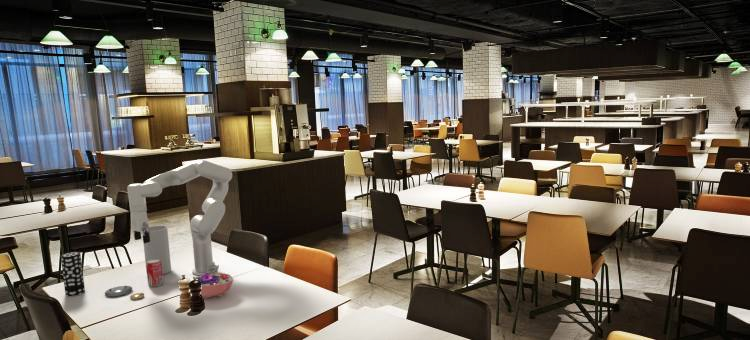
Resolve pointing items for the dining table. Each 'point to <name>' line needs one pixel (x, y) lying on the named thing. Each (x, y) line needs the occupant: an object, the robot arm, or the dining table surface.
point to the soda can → (154, 272)
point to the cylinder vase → (158, 247)
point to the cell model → (215, 284)
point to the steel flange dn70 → (118, 291)
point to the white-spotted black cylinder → (72, 273)
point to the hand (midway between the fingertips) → (142, 241)
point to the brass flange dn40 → (137, 296)
